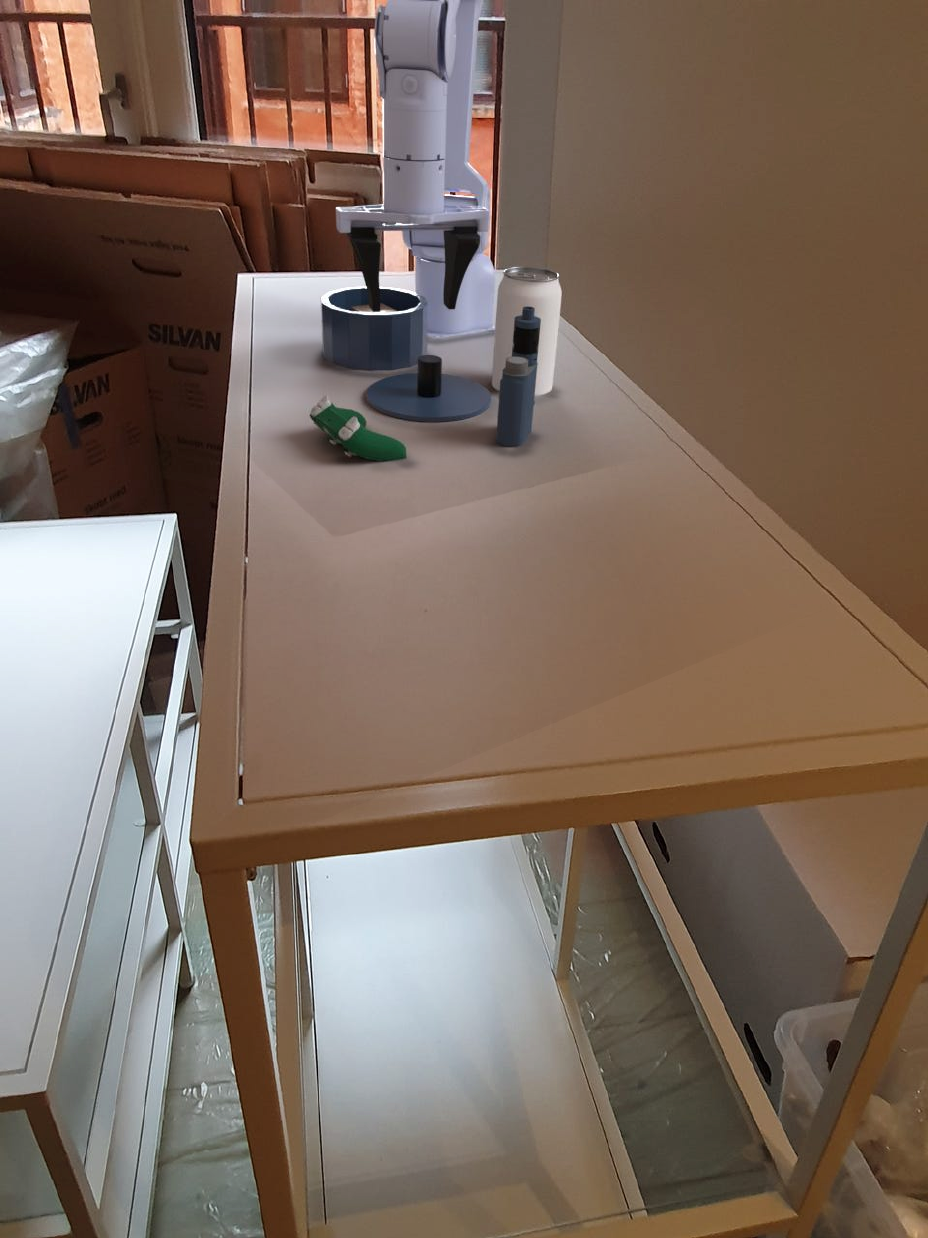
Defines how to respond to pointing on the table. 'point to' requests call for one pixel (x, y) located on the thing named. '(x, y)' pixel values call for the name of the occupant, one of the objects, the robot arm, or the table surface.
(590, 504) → the table surface
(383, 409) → the lid
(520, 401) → the vaping device
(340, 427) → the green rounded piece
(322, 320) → the tin
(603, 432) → the table surface
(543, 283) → the can
